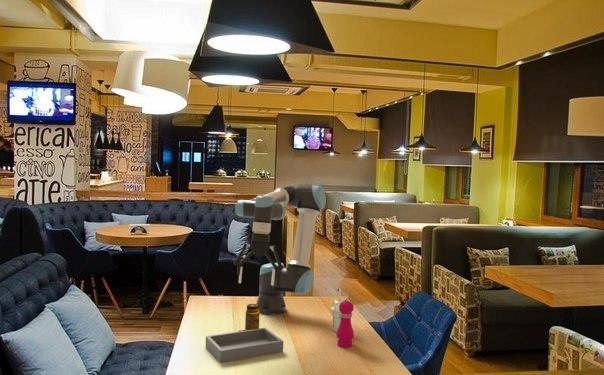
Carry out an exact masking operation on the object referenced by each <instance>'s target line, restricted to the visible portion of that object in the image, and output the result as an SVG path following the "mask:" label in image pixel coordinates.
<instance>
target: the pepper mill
mask: <svg viewBox="0 0 604 375" xmlns="http://www.w3.org/2000/svg"><path fill="white" fill-rule="evenodd" d="M339 310H340V311H341V312H340V316H341V322H340V325H339V327H338V329H337V332H336V338H337V343H336V345H337V346H338V347H340V348H346V349H347V347H348V348H351V347H352V346H353V339H354V337H355V331H354V329H353V327H352V317H353V311H354V310H355V309H354V303H353V302H352V301H350V299H349V297H348V296H346V297H345V298H344V300H343V301H342V302H341V303H340V305H339Z"/></svg>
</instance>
